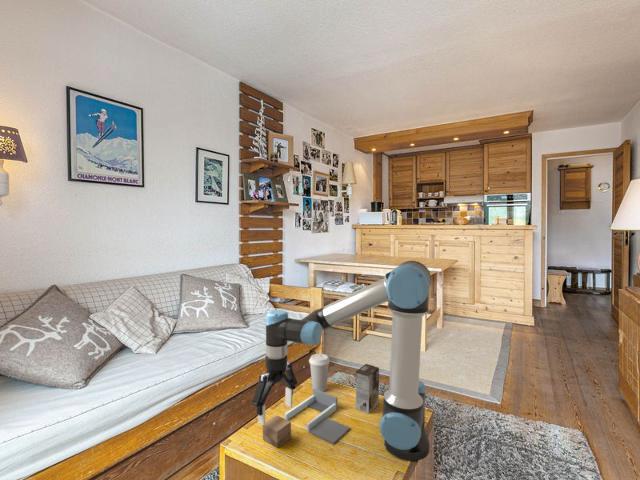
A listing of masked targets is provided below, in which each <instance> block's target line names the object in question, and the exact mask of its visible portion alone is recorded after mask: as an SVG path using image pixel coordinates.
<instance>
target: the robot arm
mask: <svg viewBox="0 0 640 480" xmlns="http://www.w3.org/2000/svg"><path fill="white" fill-rule="evenodd" d="M431 285H432V275H431V272H430V269H429V268H428V267H427V266H426V265H425V264H423V263H421V262H419V261H416V260H407V261H404V262H402V263H400V264H399V265H398V266H396V267H395V268H393V270H391V271H389V272H387V273H385V275H384V278H381V279H379V280H377V281H374V282H373V283H371V284H369V285H367V286H365V287H362V288H359V290H356V291H354V292H352V293H350V294H348V295H346V296H343V297H342V298H340V299H337V300H336V301H333V302H331V303H329V304H327V305H325V306H323V307H321V308H317V309H315V310H313V311H312V312H311V313H309V314H308V315H306V316H304V317H303V318H301V319H295V318H290V317H289V313H288V312H287V311H286V310H283V309H273V310H270V311H268V312H267V313H266V314H265V315H266V317H265V361H264V362H265V368H266V373H264V374H263V373H260V374H259V375H258V376H259V378H258V383H257V387H256V390H255V392H254V396H253V398H252V402H251V404H252V405H253V406H255V407H256V414H257V423H259V424H261V425H262V426H263V425H264V424H265V422H266V404H265V403H266V401H267V399H268V396H269V394H270V392H271V390H272V388H273V387H274V386H275V384H277V383H278V382H281V381H282V382H283V383H284V384H285V386H287V387H285V394H284V395H285V396H284V397H285V399H284V401H285V402H284V403H285V406H286V407H289V408H293V396H294V390H296V388H297V387H296V386H297V385H298V381H297V378H296V376H295V373H294V370H293V365H292V363H290V362H288V342H292V343H298V344H304V345H306V346H309V345H311V346H317V345H318V344H319V343H320V341H321V339H322V336H323V335H322V334H323V332H324V331H325V330H327V329H329V328H331V327H333V326H335V325H337V324H340V323H342V322H344V321H346V320H348V319H351V318H354V317H356V316H358V315H360V314H362V313H364V312H367V311H369V310H371V309H373V308H376V307H377V306H380V305H382V304H385V303H387V309H388V310H389V311H390V313H392V321H391V340H390V341H391V343H390V344H391V345H390V360H389V361H390V362H389V382H388V383H389V384H388V389H387V390H385V391H384V394H383V404H382V405H383V406H382V415H381V418H380V421H379V432H380V435H381V437H382V438H383V443H384V444H383V445H384V447H385V449H386V451H387V452H389V454H390V455H392V456H394V457H395V458H398V459H400V460H404V461H408V460H410V462H416V461H417V462H418V461H420V460H421V461H422V460H424V459H426V458H427V457H428V455H429V454H430V440H429V437H428V433H427V430H426V427H425V425H426V423H425V422H426V419H425V418H426V393H427V391H426V385H425V383H424V382H422V381H421V380H420V368H421V349H422V348H421V347H422V345H421V344H422V330H423V329H422V327H423V316H425V315H426V314H428V312H429V299H430V288H431Z"/></svg>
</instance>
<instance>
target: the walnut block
mask: <svg viewBox="0 0 640 480" xmlns="http://www.w3.org/2000/svg"><path fill="white" fill-rule="evenodd" d="M291 438H292V422H291V421H290V420H289V419H288V420H286V419H284V418H283V417H281V416H280V415H277V414H276V415H275V416H273V417H271V418H270V419H269V420H267V421H265V424H264V425H263V424H262V441H263V440H264V441H263V442H265V443H267V444H268V445H270V444H271V445H270V446H272V447H274V448H276V449H279V448H280V447H281V446H283V445H284V444H285V443H286V442H287V441H289V440H291Z"/></svg>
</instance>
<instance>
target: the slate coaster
mask: <svg viewBox="0 0 640 480" xmlns="http://www.w3.org/2000/svg"><path fill="white" fill-rule="evenodd" d="M350 430H351V427H350V426H349V425H345V424H343V423H340V422H338V421H336V420H334V419H332V418H329V417H326V418H325V419H323V420H322V421H321V422H320V423H318V424H317V425H316V426H315V427H313V428H312V429H311V430H309V431H308V433H309V434H311V435H312V436H315V437H316V438H319V439H321V440H323V441H326V442H327V443H329V444H332V445H334V444H336V443H337V442H339V440H340V439H341V438H342V437H344V436H345V434H347V433H348V432H349V431H350Z"/></svg>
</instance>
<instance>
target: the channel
mask: <svg viewBox="0 0 640 480" xmlns="http://www.w3.org/2000/svg"><path fill="white" fill-rule="evenodd" d="M305 408H310V409H312V410H315V411H316V412H317V411H318V412H320V413H319V414H318V415H316V416H315V417H313V419H311V420H310V421H308V422H307V423H306V429H305V430H306V431H307V432H309V430H311V429H312V428H313V427H315V426H316V425H317V424H318V423H320V422H321V421H322V420H323V419H325V418H326V417H327V418H329V416H330V415H332V414H333V413H334V412H335V411H337V409H338V396H335V395H333V394H331V393H328V392H325V391H324V392H322V391H320V390H317V389H313V390H312V395H311V396H309V397H307V398H306V399H305V400H303V401H302V402H300V403H299V404H296V406H294V407H291V409H289V410H288V411H286V412H285V413H284V415H283V416H284V419H286V420H288V421H289V420H290V419H291V418H293V417H294V416H296V415H297V414H298V413H301V411H303V410H305Z"/></svg>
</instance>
